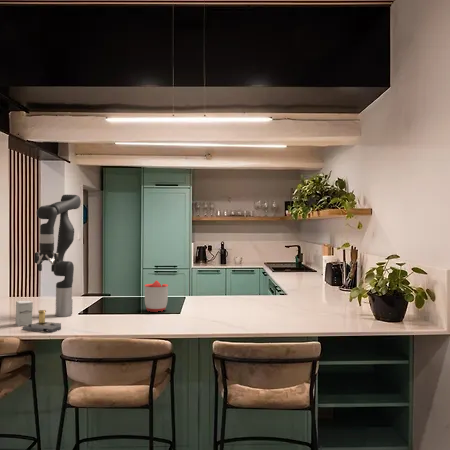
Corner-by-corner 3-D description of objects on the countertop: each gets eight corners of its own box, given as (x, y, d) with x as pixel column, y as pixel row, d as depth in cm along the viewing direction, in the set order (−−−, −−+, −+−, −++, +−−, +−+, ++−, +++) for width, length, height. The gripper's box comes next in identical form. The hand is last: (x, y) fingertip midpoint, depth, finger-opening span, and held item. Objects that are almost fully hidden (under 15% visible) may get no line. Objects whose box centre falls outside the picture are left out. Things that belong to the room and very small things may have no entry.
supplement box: (17, 326, 227) (18, 303, 227) (15, 323, 233) (15, 301, 233) (32, 324, 231) (33, 302, 231) (29, 322, 237) (30, 300, 237)
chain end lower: (31, 326, 227) (32, 322, 227) (52, 328, 224) (52, 324, 224) (22, 329, 220) (22, 325, 220) (43, 331, 217) (43, 327, 217)
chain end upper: (40, 327, 226) (40, 320, 226) (60, 329, 222) (61, 322, 222) (31, 330, 219) (31, 323, 219) (52, 332, 215) (52, 325, 216)
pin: (41, 328, 223) (41, 309, 223) (46, 329, 222) (47, 310, 223) (36, 330, 220) (36, 311, 220) (42, 330, 219) (42, 311, 219)
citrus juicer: (170, 308, 285) (171, 279, 285) (164, 313, 268) (165, 282, 268) (148, 307, 287) (149, 278, 287) (140, 312, 269) (141, 281, 270)
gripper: (62, 242, 236) (61, 271, 236) (40, 241, 240) (40, 269, 240) (53, 243, 229) (53, 272, 229) (31, 242, 232) (31, 271, 233)
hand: (46, 271), depth 234 cm, fingers open, 8 cm apart
